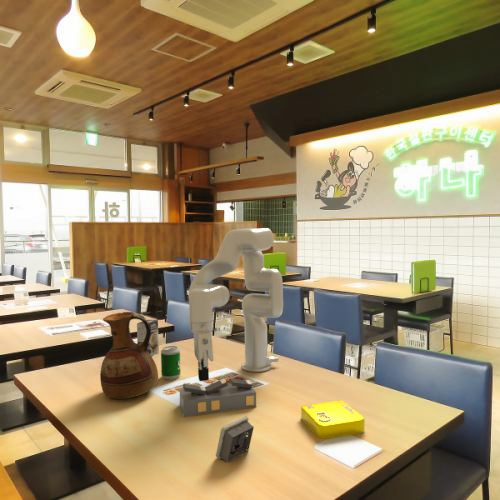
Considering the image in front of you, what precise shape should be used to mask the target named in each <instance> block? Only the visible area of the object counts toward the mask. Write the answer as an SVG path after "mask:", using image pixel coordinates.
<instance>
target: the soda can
mask: <svg viewBox="0 0 500 500" xmlns="http://www.w3.org/2000/svg"><path fill="white" fill-rule="evenodd" d="M160 365H161V366H160V367H161V371H160V372H161V377H162V378H163V379H164V380H167V381H173V380H176V379H179V377H180V376H181V350H180V348H179V347H178V346H176V345H170V346H164V347H163V348H162V349H161V350H160Z"/></svg>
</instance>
